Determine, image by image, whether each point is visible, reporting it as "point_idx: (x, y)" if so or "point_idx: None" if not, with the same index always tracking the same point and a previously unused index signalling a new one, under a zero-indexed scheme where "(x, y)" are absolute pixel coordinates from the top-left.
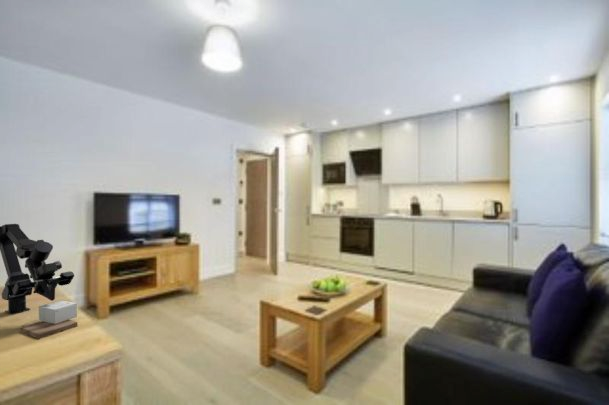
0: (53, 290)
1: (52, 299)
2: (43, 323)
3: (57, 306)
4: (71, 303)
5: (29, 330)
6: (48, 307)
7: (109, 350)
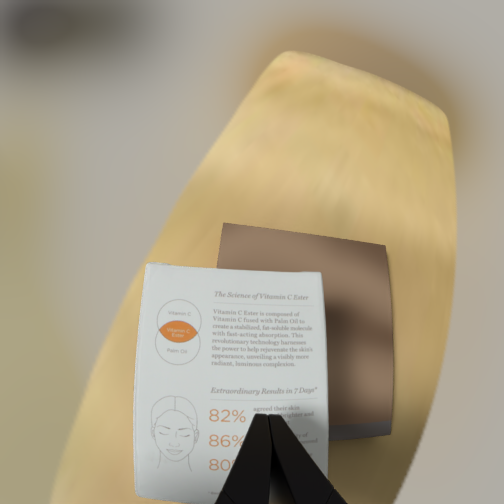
0: (243, 494)
1: (278, 414)
2: None
3: (268, 332)
4: (166, 295)
5: (391, 341)
6: (315, 382)
7: (298, 54)
